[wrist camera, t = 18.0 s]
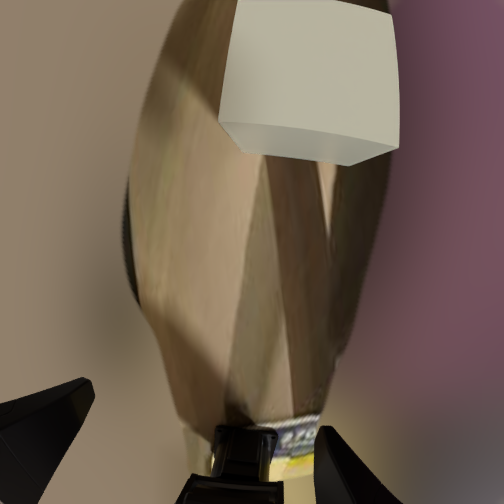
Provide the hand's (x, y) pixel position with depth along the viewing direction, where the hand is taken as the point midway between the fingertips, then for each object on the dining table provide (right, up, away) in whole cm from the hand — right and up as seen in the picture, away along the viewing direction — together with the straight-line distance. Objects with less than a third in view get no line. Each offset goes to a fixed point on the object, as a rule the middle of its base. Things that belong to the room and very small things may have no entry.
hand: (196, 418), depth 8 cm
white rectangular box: (+6, +16, +9) cm, 20 cm away
